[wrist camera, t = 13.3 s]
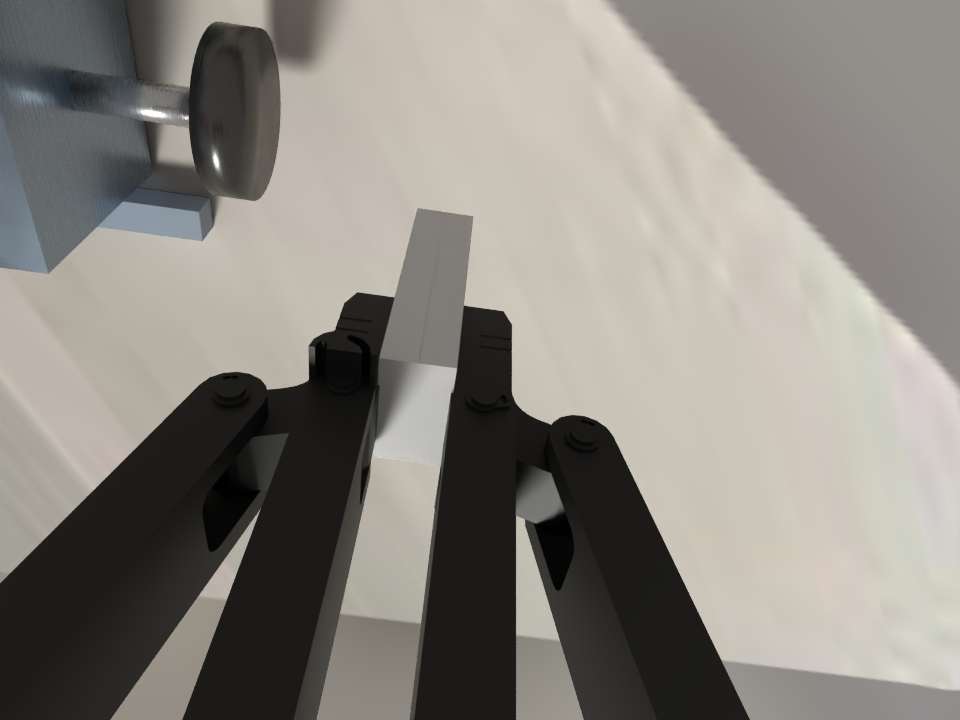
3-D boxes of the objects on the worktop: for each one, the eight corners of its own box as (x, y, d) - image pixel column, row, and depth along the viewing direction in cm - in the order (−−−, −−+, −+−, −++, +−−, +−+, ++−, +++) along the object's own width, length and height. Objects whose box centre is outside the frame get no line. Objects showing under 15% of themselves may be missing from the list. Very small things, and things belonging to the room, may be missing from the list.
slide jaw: (94, 164, 31) (-28, 263, 24) (37, -97, 25) (-150, -68, 18) (293, 192, 31) (231, 297, 24) (285, -56, 25) (200, -12, 18)
